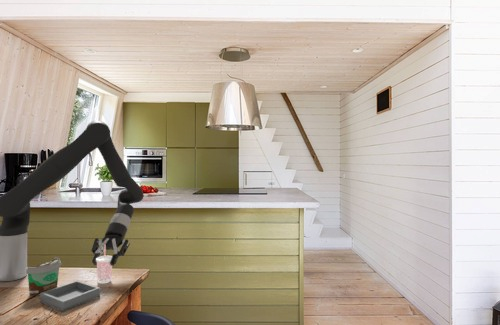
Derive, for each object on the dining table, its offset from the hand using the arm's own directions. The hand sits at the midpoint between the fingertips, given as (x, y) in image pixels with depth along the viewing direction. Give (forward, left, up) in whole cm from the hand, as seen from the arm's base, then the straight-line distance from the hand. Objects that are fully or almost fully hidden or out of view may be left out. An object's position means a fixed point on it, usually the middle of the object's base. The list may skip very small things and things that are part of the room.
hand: (103, 264), depth 120 cm
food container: (-10, -14, -7) cm, 19 cm away
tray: (+3, -15, -7) cm, 17 cm away
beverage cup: (-1, +1, -7) cm, 7 cm away
